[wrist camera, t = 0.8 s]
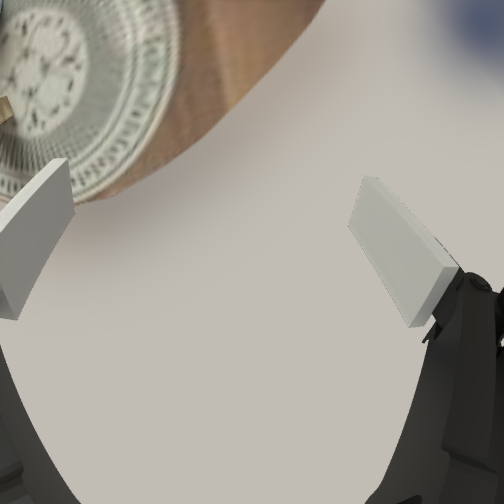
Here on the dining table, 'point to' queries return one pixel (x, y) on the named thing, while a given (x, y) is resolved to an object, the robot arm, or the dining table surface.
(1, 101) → the tan bar
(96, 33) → the dining table surface
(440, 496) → the robot arm
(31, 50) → the dining table surface
